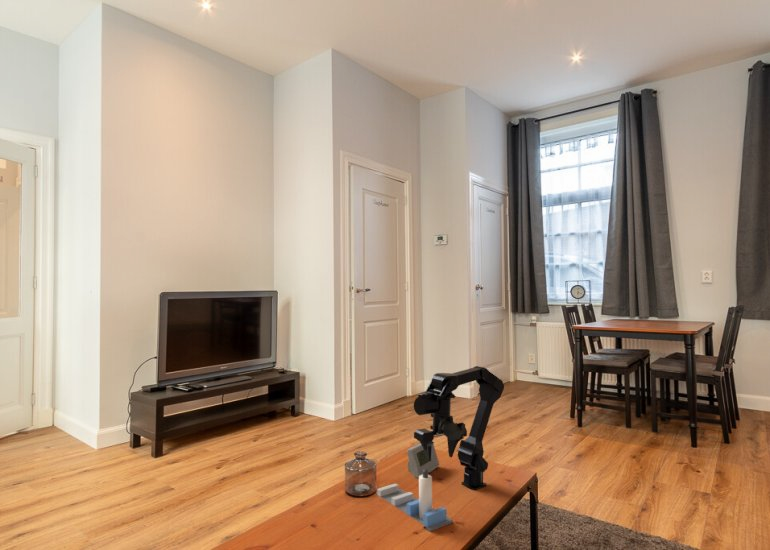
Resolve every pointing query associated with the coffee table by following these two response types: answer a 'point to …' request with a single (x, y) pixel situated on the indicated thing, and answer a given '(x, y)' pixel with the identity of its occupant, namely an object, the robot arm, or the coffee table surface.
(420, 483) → the bottle
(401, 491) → the slotted divider tray
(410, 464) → the digital clock
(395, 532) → the coffee table surface
